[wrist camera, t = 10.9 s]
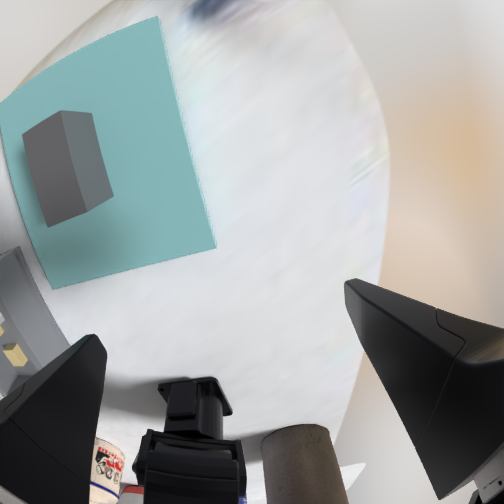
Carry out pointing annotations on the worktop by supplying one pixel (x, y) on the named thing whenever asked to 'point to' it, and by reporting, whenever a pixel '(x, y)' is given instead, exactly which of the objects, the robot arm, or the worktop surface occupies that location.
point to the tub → (24, 325)
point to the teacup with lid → (106, 472)
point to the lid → (105, 160)
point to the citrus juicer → (131, 495)
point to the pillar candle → (302, 467)
